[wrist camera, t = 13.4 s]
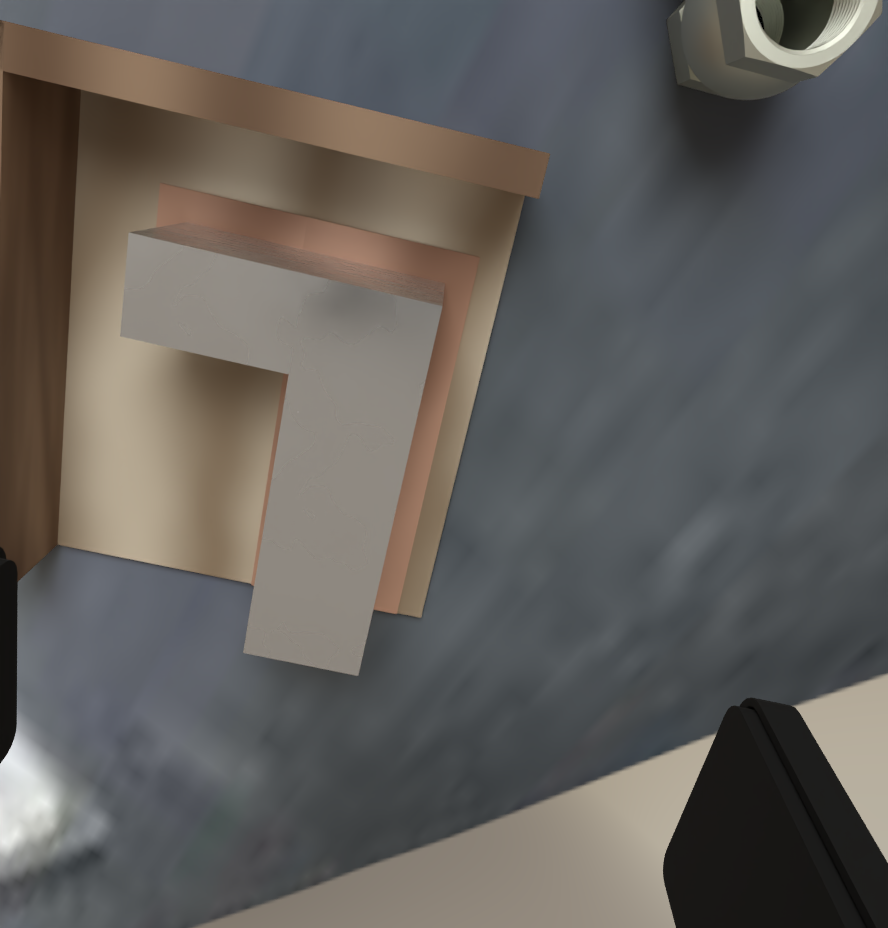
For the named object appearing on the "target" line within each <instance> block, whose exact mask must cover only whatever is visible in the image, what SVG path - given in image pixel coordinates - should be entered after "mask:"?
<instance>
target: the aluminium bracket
mask: <svg viewBox="0 0 888 928" xmlns="http://www.w3.org/2000/svg"><path fill="white" fill-rule="evenodd" d="M444 287H445V283H442V282H438V281H434V280H429V279H425V278H421V277H417V276H412V275H408V274H404V273H400V272H396V271H391V270H387V269H383V268H379V267H374V266H370V265H366V264H362V263H358V262H353V261H349V260H345V259H341V258H336V257H332V256H328V255H324V254H320V253H315V252H311V251H307V250H303V249H298V248H294V247H290V246H286V245H282V244H277V243H273V242H269V241H265V240H261V239H256V238H252V237H248V236H244V235H239V234H235V233H231V232H227V231H223V230H218V229H214V228H210V227H206V226H201V225H197V224H193V223H189V222H185V223H179V224H173V225H168V226H162V227H157V228H151V229H145V230H140V231H134V232H129V234H128V246H127V258H126V270H125V283H124V295H123V307H122V319H121V331H120V336H121V337H125V338H129V339H134V340H138V341H143V342H147V343H151V344H156V345H160V346H165V347H169V348H174V349H178V350H182V351H187V352H191V353H196V354H200V355H205V356H209V357H213V358H218V359H222V360H227V361H231V362H236V363H240V364H244V365H249V366H253V367H258V368H262V369H267V370H271V371H275V372H280V373H284V374H289V376H288V382H287V388H286V394H285V400H284V406H283V412H282V418H281V425H280V431H279V437H278V443H277V449H276V455H275V461H274V467H273V474H272V480H271V486H270V492H269V498H268V504H267V510H266V517H265V523H264V529H263V535H262V541H261V547H260V553H259V559H258V566H257V572H256V578H255V584H254V590H253V596H252V602H251V608H250V615H249V621H248V627H247V633H246V639H245V645H244V651H243V653H246V654H251V655H256V656H261V657H266V658H271V659H276V660H281V661H286V662H291V663H296V664H301V665H306V666H311V667H316V668H321V669H326V670H331V671H336V672H341V673H346V674H351V675H356V676H358V674H359V670H360V666H361V661H362V657H363V652H364V648H365V644H366V639H367V635H368V631H369V626H370V622H371V617H372V613H373V609H374V604H375V600H376V596H377V591H378V587H379V582H380V578H381V574H382V569H383V565H384V560H385V556H386V552H387V547H388V543H389V539H390V534H391V530H392V525H393V521H394V517H395V512H396V508H397V504H398V499H399V495H400V490H401V486H402V482H403V477H404V473H405V468H406V464H407V460H408V455H409V451H410V447H411V442H412V438H413V433H414V429H415V425H416V420H417V416H418V411H419V407H420V403H421V398H422V394H423V390H424V385H425V381H426V376H427V372H428V368H429V363H430V359H431V355H432V350H433V346H434V341H435V337H436V333H437V328H438V324H439V319H440V315H441V311H442V306H443V297H444Z"/></svg>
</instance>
